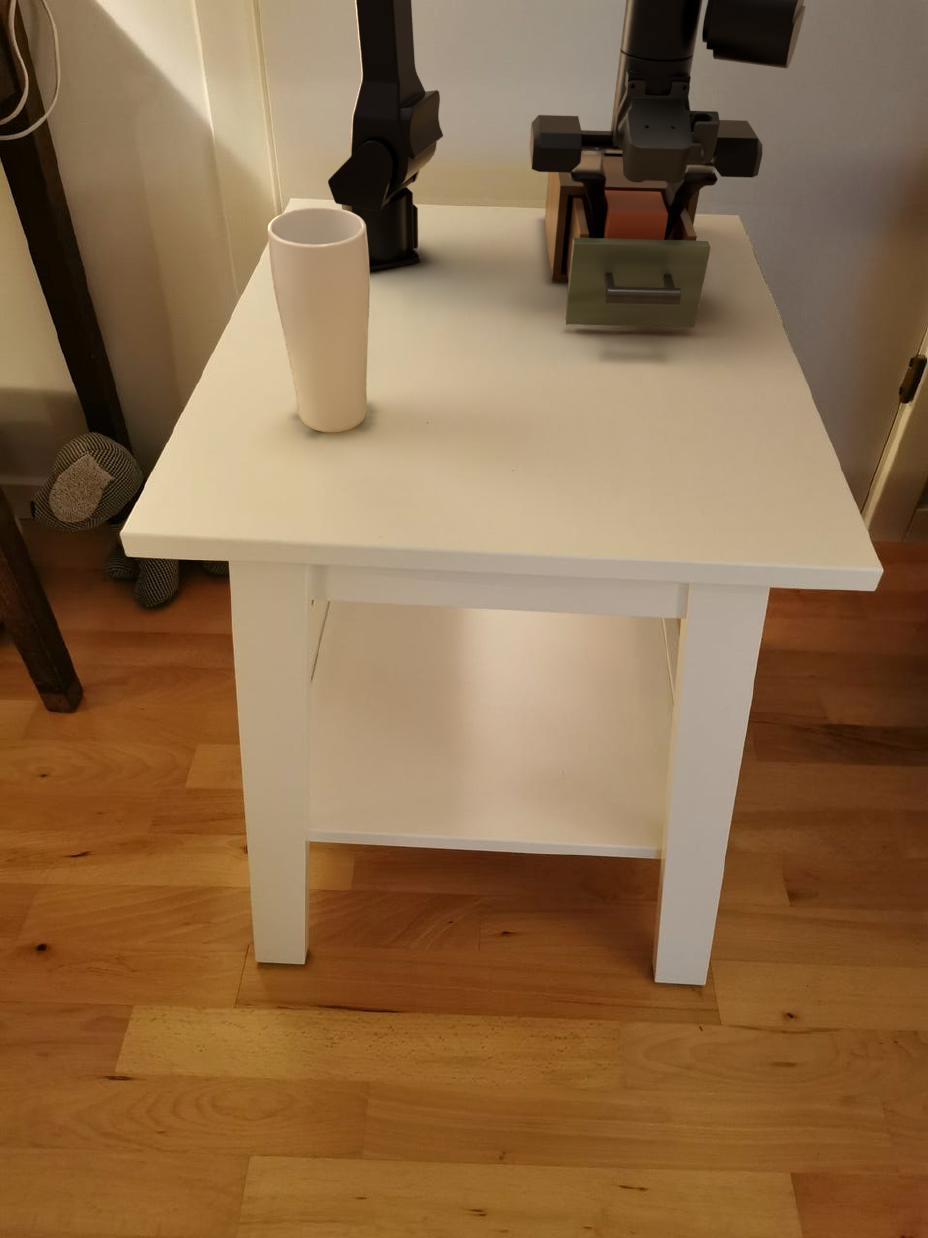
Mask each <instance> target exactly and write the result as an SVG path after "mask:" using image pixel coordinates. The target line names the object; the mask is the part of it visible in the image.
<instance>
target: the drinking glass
mask: <svg viewBox="0 0 928 1238" xmlns="http://www.w3.org/2000/svg"><path fill="white" fill-rule="evenodd" d="M267 236H268V251H269V252H268V253H269V261H270V270H271V278H272V284H273V290H274V295H275V300H276V305H277V311H278V315H279V319H280V324H281V329H282V333H283V339H284V342H285V347H286V352H287V353H286V354H287V358H288V361H289V362H288V363H289V367H290V372H291V377H292V382H293V386H294V391H295V399H296V407H297V414H298V416H299V418H300V421H301V422H302V423H304V425H305V426H307V427H308V428H310V429H312V430H314V431H318V432H321V433H340V432H346V431H349V430H351V429H353V428H355V427H357V426H358V425H360V424H361V423H362V422H363V421H364V419H365V418H366V416H367V412H368V398H367V397H368V396H367V378H368V377H367V376H368V375H367V374H368V347H369V345H368V344H369V343H368V342H369V322H370V321H369V318H370V296H371V295H370V292H371V271H370V268H369V251H368V241H367V231H366V224H365V222H364V220H363V219H362V218H361V217H359V216H358V215H356V214H354V213H352V212H349V211H346V210H342V208H337V207H330V206H329V207H328V206H311V207H302V208H296V209H293V210H289V211H286V212H283V213H281V214H279V215H277V216H276V217H274V218H273V219H272V220H271V221H270V222H269V224H268V226H267Z"/></svg>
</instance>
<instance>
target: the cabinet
mask: <svg viewBox="0 0 928 1238" xmlns="http://www.w3.org/2000/svg"><path fill="white" fill-rule="evenodd" d="M602 163H603V167H604V171H605V175H606V185H605V190H608V191H646V192H661V195H662V197H664V196H665V192H666V187H667V182H666V181H643V182H641V183H638V182H632V181H629V180H628V179H626V178H625V176H624V174H623V157H606V156H604V162H602ZM547 173H548V174H547V186H546V200H545V209H544V210H545V211H544V213H545V214H544V229H545V235H546V236H545V237H546V245H547V252H548V261H549V270H550V278H551V283H562V284H563V283H564V284H565V283H567V284H568V276H567V270H566V263H565V256H564V255H565V244H566V234H567V223H568V213H569V202H570V195H587V194H586V191H585V188H584V186H583V183H581V182H574V181H572V180H571V179H570V176H569V173H563V172H547ZM700 192H701V189H700V190H699V191H698V192H696V193H695V194H694V195H693V197H692V198H691V199H690V201H689V202H688V204H687V205H686V210H687V212H688V215H689V217H690V220H691V222H692V225H693V226H694V224H695V219H696V213H697V207H698V202H699V197H700Z"/></svg>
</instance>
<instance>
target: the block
mask: <svg viewBox="0 0 928 1238" xmlns="http://www.w3.org/2000/svg"><path fill="white" fill-rule="evenodd" d="M667 219H668V212H667V209H666V207H665V204H664V201H663V198H662V195H661V192H646V191H608V190H605V231H604V238H607V239H648V240H664V237H665V231H666V225H667Z"/></svg>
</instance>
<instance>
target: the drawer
mask: <svg viewBox="0 0 928 1238" xmlns="http://www.w3.org/2000/svg"><path fill="white" fill-rule="evenodd" d="M662 198H663V201H664V197H662ZM697 238H698V235H697V233H696V230H695V227H694V225H692V222H691V220H690V217H689V215H688V212H687V210H686V207H685V208H684V210H683V211H682V213H681V215H680V217H679V219H678V221H677V222H676V224H675V226H674V228H673V230H672V232H671V233H670V235H669V237H668V239H667V240H648V239H607V238H596V235H595V230H594V224H593V219H592V213H591V208H590V203H589V200H588V197H587V195H570V202H569V213H568V223H567V234H566V244H565V255H564V256H565V263H566V270H567V276H568V283H567V284H568V287H567V293H566V304H565V313H564V314H565V315H564V322H565V325H567V326H568V325H570V326H571V325H572V326H574V325H575V326H613V327H619V326H620V327H651V328H652V327H656V328H696V323H697V322H696V321H697V317H698V312H699V308H700V303H701V302H700V301H701V297H702V293H703V289H704V282H705V278H706V274H707V273H706V272H707V268H708V263H709V257H710V253H711V249H712V246H711V244H710V242H709V240H697Z"/></svg>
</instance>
